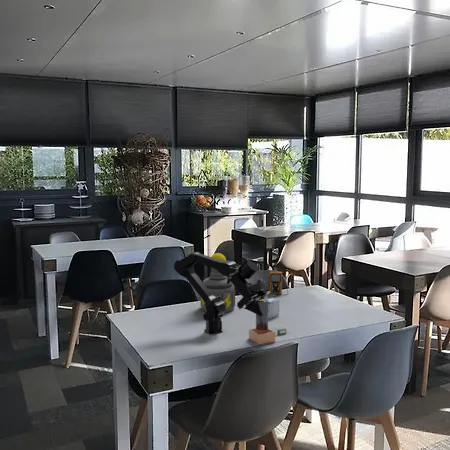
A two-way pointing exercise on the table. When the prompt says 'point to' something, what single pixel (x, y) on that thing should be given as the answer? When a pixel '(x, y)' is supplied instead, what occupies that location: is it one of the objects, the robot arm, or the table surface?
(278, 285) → the multimeter
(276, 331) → the checker pad
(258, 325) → the cell
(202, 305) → the decorative lamp
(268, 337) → the cup
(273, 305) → the medicine box
